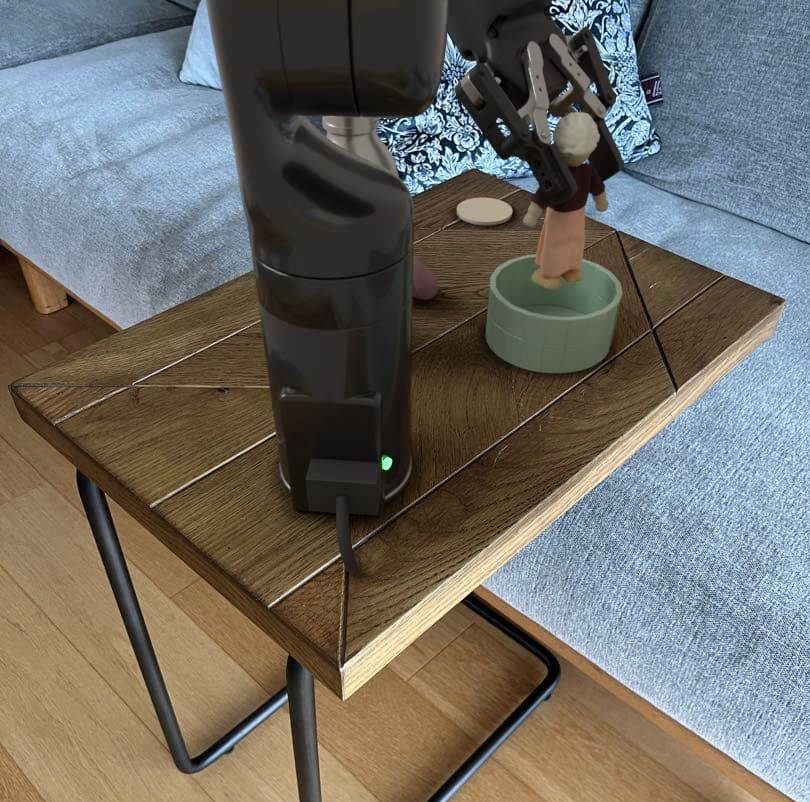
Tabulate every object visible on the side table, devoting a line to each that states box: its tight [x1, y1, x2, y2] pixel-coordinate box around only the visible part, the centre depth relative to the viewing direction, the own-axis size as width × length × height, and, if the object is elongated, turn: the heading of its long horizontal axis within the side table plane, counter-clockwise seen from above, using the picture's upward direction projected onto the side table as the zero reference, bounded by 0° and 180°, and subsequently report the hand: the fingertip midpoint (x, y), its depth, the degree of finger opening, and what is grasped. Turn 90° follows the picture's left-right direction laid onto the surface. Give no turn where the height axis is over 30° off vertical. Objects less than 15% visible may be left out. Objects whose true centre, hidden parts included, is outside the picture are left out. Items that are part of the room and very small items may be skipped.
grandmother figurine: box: [522, 111, 609, 290], centre depth 62 cm, size 8×4×13 cm, turn 130°
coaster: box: [456, 197, 514, 226], centre depth 87 cm, size 6×6×1 cm
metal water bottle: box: [321, 116, 400, 178], centre depth 62 cm, size 6×7×20 cm
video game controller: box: [413, 256, 439, 301], centre depth 73 cm, size 10×5×7 cm, turn 62°
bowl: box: [485, 253, 624, 374], centre depth 69 cm, size 11×11×5 cm
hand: (590, 186), depth 60 cm, fingers closed on grandmother figurine, 5 cm apart
